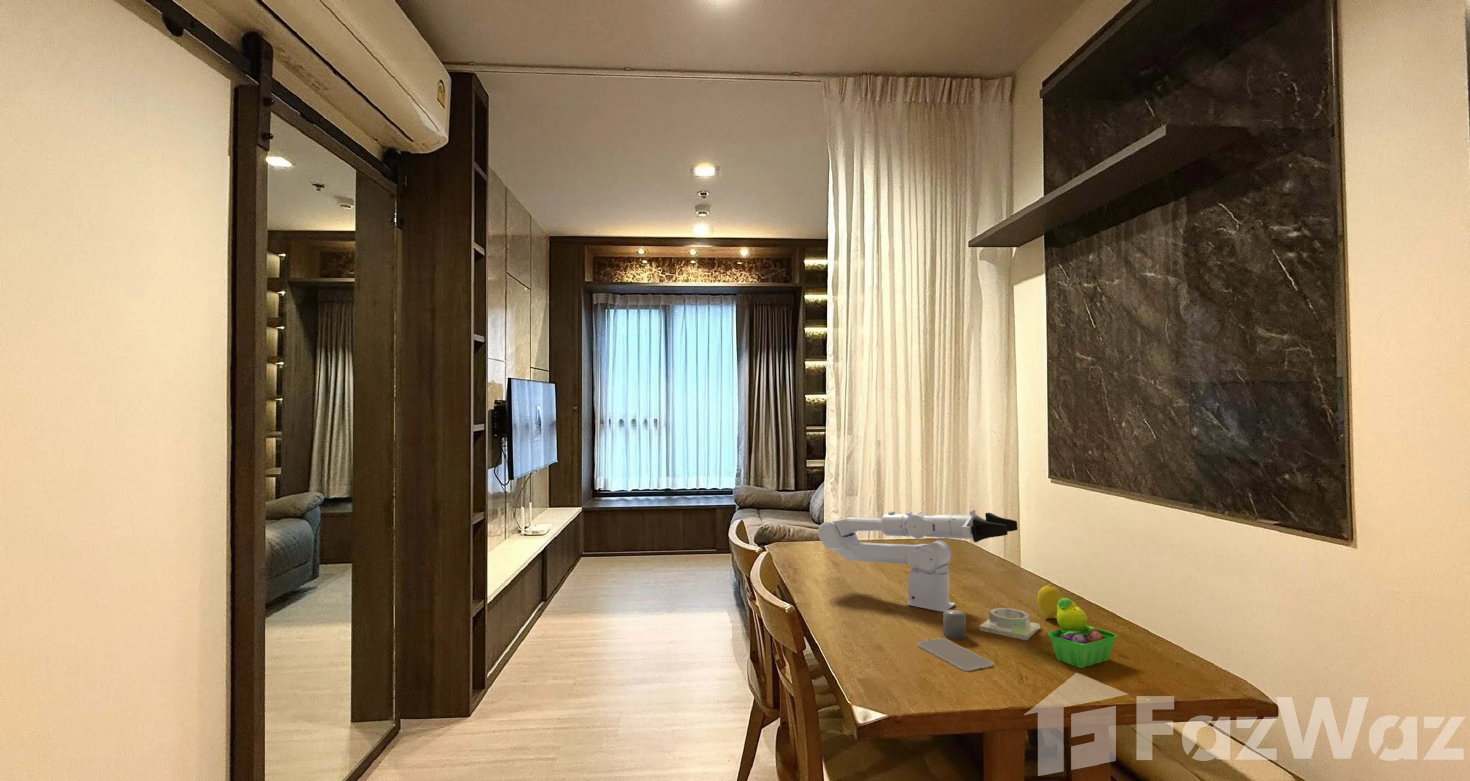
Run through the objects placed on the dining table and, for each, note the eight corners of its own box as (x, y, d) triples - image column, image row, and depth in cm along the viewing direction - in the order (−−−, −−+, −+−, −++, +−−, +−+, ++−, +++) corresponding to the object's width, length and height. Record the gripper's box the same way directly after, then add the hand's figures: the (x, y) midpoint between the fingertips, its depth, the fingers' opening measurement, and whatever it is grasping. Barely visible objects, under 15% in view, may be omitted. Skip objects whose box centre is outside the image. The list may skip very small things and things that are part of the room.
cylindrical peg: (940, 636, 140) (939, 612, 140) (948, 630, 143) (947, 607, 144) (961, 641, 137) (960, 616, 137) (968, 635, 140) (968, 611, 141)
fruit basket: (1082, 672, 121) (1081, 611, 121) (1041, 656, 128) (1039, 599, 129) (1119, 661, 126) (1118, 602, 126) (1077, 646, 134) (1076, 591, 134)
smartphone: (965, 669, 121) (914, 642, 135) (965, 674, 121) (914, 646, 135) (995, 663, 124) (943, 637, 138) (995, 668, 124) (943, 641, 137)
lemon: (1057, 614, 154) (1057, 581, 155) (1067, 622, 149) (1066, 587, 149) (1033, 614, 155) (1033, 580, 155) (1042, 621, 149) (1041, 587, 150)
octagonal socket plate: (979, 630, 144) (979, 614, 144) (994, 619, 151) (994, 604, 151) (1027, 640, 137) (1026, 623, 137) (1039, 628, 145) (1039, 612, 145)
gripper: (941, 513, 154) (1000, 514, 145) (963, 506, 165) (1019, 506, 156) (944, 543, 153) (1003, 545, 144) (966, 534, 164) (1022, 536, 156)
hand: (1011, 527), depth 150 cm, fingers open, 7 cm apart
